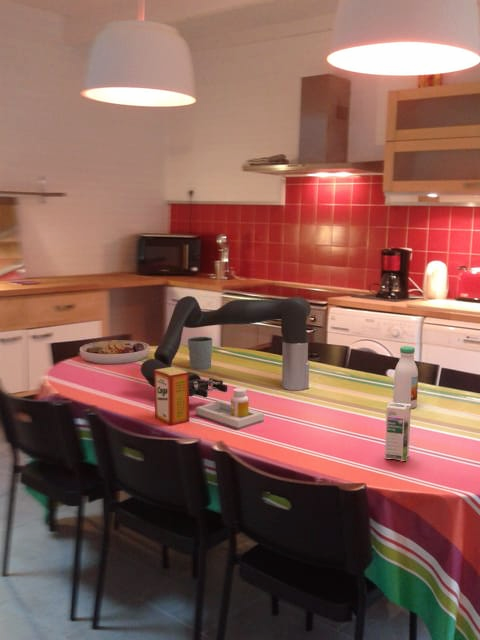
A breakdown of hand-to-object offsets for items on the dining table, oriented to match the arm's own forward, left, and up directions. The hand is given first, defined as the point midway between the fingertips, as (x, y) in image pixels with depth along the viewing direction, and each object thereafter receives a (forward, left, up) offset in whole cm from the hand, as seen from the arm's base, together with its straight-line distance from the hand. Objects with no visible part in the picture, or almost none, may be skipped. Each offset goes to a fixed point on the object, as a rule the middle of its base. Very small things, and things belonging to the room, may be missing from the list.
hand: (216, 391), depth 214 cm
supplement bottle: (-6, +9, -7) cm, 13 cm away
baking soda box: (+14, +3, -8) cm, 17 cm away
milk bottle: (-64, 0, -8) cm, 64 cm away
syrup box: (-42, +44, -8) cm, 62 cm away
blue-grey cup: (-1, -64, -8) cm, 64 cm away
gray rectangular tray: (-3, +5, -8) cm, 10 cm away
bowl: (+33, -88, -8) cm, 94 cm away
